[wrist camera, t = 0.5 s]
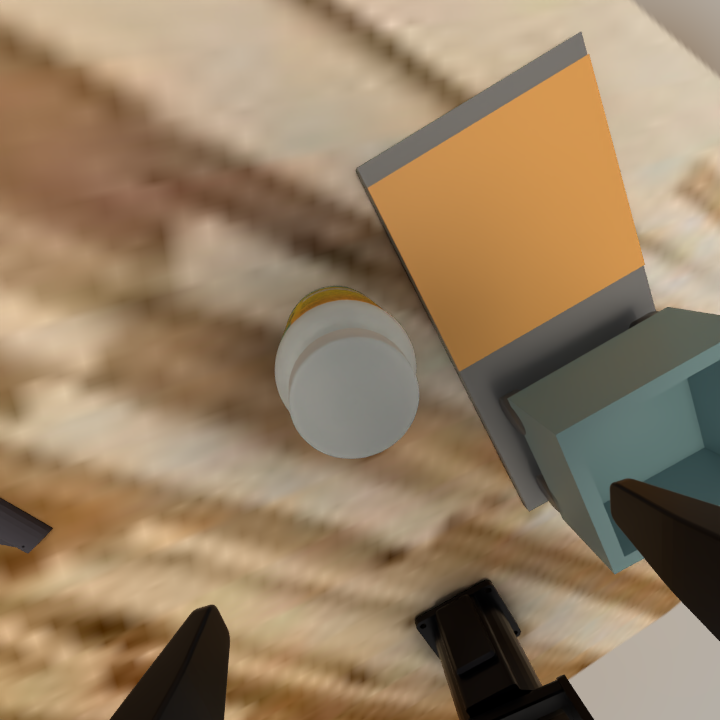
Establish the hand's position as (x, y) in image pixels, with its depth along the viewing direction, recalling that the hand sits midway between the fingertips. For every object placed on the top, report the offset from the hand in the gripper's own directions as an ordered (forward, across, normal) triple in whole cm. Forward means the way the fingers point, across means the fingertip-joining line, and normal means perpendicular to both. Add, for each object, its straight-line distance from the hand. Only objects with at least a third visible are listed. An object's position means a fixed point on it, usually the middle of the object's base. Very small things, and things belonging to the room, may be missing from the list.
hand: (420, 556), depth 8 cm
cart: (+14, -13, +6) cm, 20 cm away
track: (+13, -12, 0) cm, 18 cm away
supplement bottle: (+14, 0, -2) cm, 14 cm away
